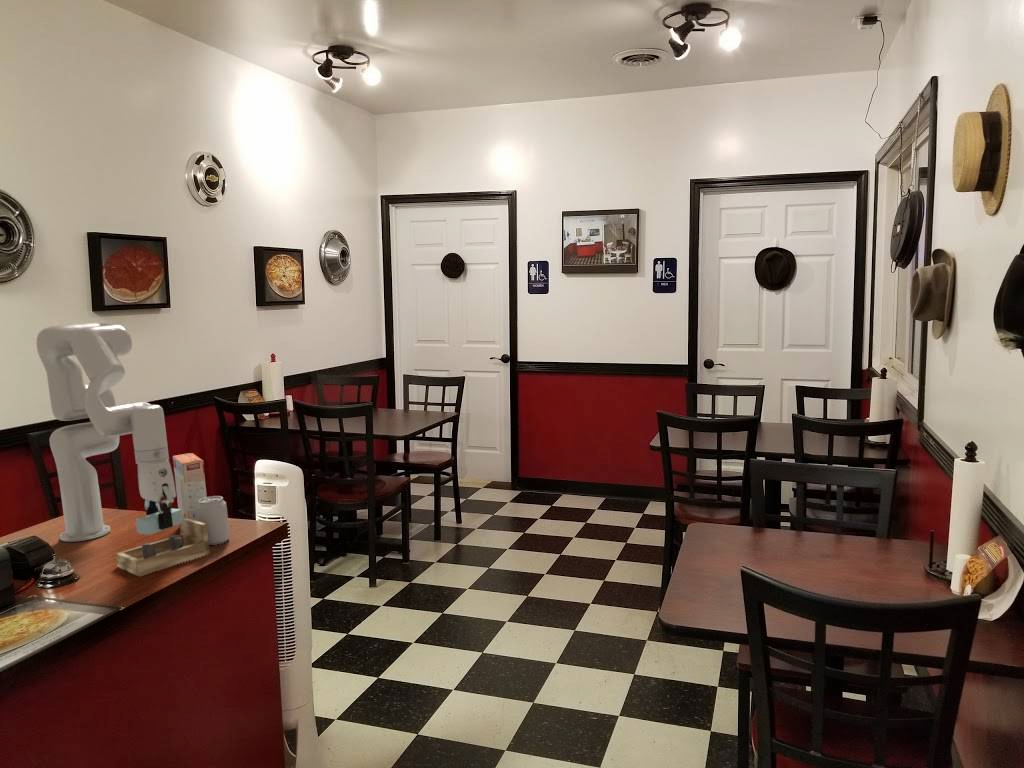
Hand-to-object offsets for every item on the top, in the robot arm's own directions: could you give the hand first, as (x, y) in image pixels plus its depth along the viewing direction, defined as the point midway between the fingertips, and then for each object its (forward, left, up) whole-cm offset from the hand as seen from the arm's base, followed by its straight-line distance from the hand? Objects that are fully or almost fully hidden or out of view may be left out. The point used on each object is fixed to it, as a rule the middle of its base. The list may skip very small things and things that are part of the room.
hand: (160, 525), depth 198 cm
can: (-2, +15, -9) cm, 18 cm away
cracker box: (-18, +18, -9) cm, 27 cm away
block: (0, 0, -1) cm, 1 cm away
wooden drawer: (0, 0, -9) cm, 9 cm away
